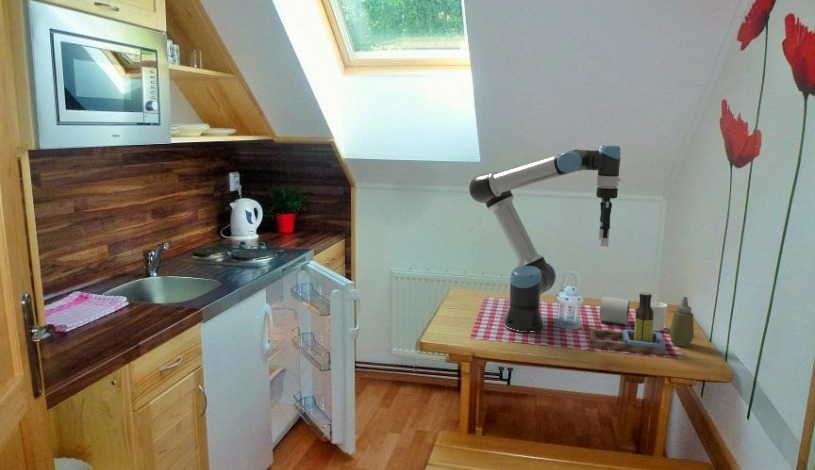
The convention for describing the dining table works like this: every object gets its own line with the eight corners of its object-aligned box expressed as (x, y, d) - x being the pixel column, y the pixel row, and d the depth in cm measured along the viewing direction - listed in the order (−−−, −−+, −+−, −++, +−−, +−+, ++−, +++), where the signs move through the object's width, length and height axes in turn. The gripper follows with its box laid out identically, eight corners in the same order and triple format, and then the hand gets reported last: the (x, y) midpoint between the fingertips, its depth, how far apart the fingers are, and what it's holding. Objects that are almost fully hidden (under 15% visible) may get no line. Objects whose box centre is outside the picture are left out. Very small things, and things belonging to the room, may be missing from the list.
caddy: (590, 347, 211) (591, 337, 211) (589, 334, 224) (590, 325, 223) (664, 354, 205) (665, 345, 204) (659, 341, 217) (660, 332, 217)
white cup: (667, 332, 227) (669, 307, 225) (645, 331, 228) (647, 306, 227) (662, 325, 234) (665, 301, 233) (641, 324, 236) (644, 300, 234)
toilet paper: (628, 320, 240) (630, 297, 238) (625, 328, 232) (627, 303, 230) (602, 316, 245) (604, 293, 243) (598, 324, 236) (600, 300, 234)
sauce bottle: (653, 345, 214) (657, 292, 210) (650, 350, 209) (655, 296, 205) (634, 341, 217) (638, 289, 213) (631, 346, 212) (635, 294, 208)
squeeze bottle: (689, 341, 218) (694, 294, 215) (695, 349, 210) (700, 301, 207) (666, 339, 220) (671, 293, 216) (671, 347, 212) (675, 299, 209)
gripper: (620, 191, 206) (615, 250, 210) (615, 184, 230) (611, 237, 234) (598, 190, 208) (594, 248, 212) (595, 183, 232) (591, 236, 236)
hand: (603, 242), depth 223 cm, fingers open, 13 cm apart
